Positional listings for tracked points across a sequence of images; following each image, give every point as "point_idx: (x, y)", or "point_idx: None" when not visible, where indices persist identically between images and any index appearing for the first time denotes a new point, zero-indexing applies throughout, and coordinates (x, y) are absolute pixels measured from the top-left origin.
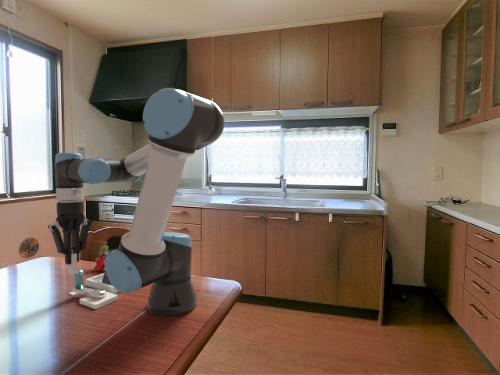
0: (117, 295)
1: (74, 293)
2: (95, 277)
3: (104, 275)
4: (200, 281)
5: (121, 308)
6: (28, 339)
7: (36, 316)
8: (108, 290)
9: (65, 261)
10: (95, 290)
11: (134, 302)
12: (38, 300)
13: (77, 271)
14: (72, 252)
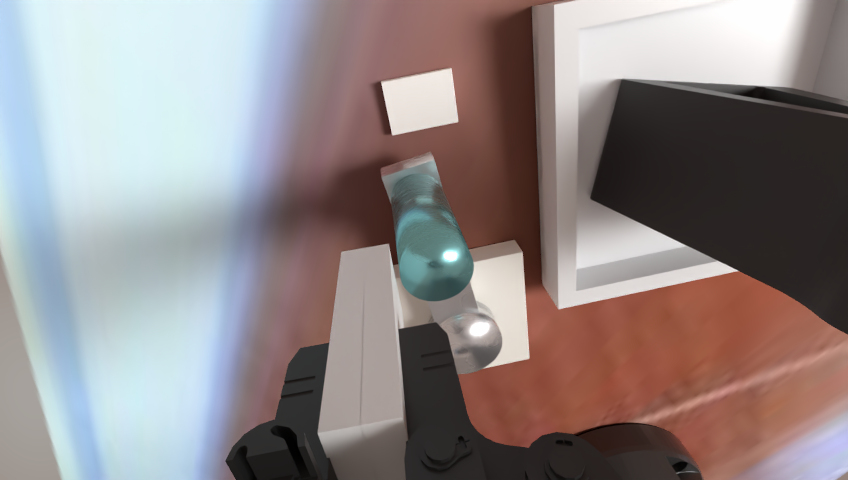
0: (526, 358)
1: (405, 122)
2: (631, 17)
3: (668, 101)
4: (839, 395)
5: (478, 414)
6: (129, 429)
7: (159, 269)
8: (547, 260)
9: (289, 386)
10: (460, 324)
11: (542, 401)
12: (177, 24)
13: (415, 294)
14: (405, 427)
